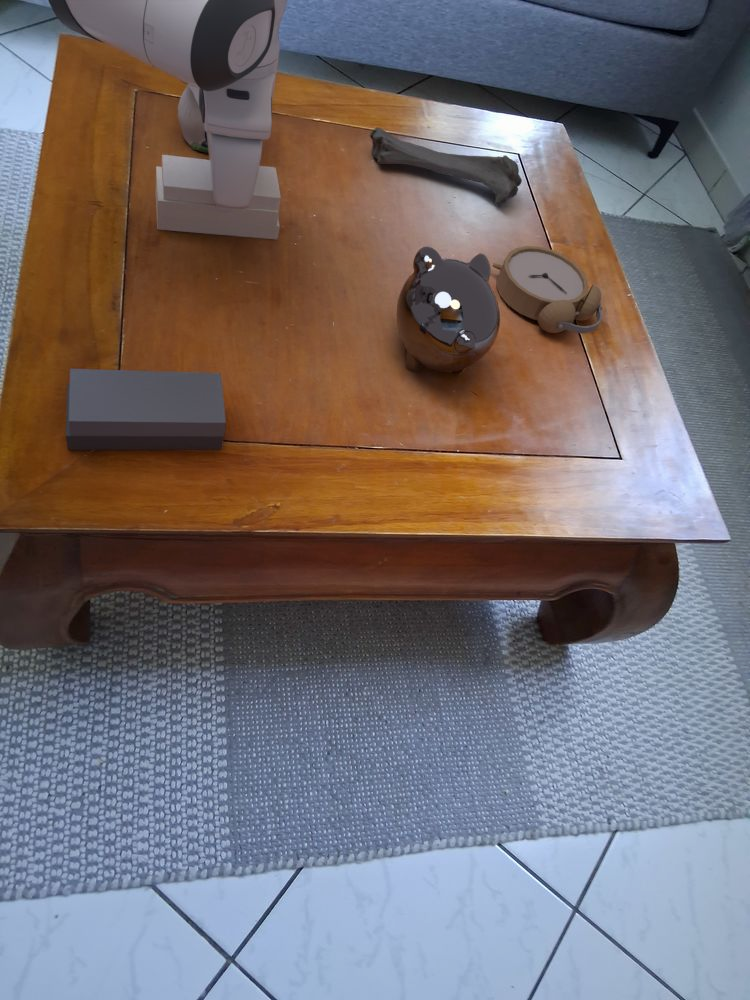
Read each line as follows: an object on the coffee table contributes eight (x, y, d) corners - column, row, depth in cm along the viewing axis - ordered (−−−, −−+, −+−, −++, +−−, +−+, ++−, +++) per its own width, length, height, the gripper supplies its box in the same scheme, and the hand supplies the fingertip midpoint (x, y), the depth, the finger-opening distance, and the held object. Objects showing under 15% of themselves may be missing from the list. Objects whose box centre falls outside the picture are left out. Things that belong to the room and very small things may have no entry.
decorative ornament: (176, 154, 96) (181, 32, 84) (166, 122, 99) (169, -1, 86) (248, 156, 99) (263, 39, 87) (236, 124, 102) (249, 7, 90)
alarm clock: (542, 236, 101) (630, 295, 95) (531, 268, 105) (615, 327, 98) (484, 258, 96) (573, 322, 89) (475, 291, 99) (560, 355, 93)
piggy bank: (463, 309, 94) (498, 234, 85) (486, 405, 86) (528, 334, 77) (376, 300, 91) (403, 221, 82) (392, 398, 83) (424, 323, 74)
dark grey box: (67, 450, 70) (63, 421, 66) (68, 398, 73) (65, 368, 69) (222, 449, 74) (226, 422, 71) (217, 401, 77) (221, 372, 74)
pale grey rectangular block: (163, 199, 85) (163, 185, 83) (161, 167, 88) (161, 154, 86) (278, 210, 89) (281, 197, 87) (273, 180, 92) (275, 167, 90)
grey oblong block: (157, 229, 88) (157, 200, 85) (155, 195, 91) (156, 166, 88) (277, 239, 92) (282, 212, 89) (272, 206, 95) (276, 179, 92)
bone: (512, 189, 111) (530, 152, 106) (512, 216, 107) (530, 178, 102) (367, 143, 108) (378, 103, 103) (361, 169, 104) (372, 128, 99)
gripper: (193, 10, 81) (187, 129, 92) (206, 128, 71) (198, 245, 82) (253, 20, 83) (240, 136, 94) (274, 136, 73) (256, 250, 84)
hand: (220, 188), depth 88 cm, fingers closed on pale grey rectangular block, 5 cm apart
